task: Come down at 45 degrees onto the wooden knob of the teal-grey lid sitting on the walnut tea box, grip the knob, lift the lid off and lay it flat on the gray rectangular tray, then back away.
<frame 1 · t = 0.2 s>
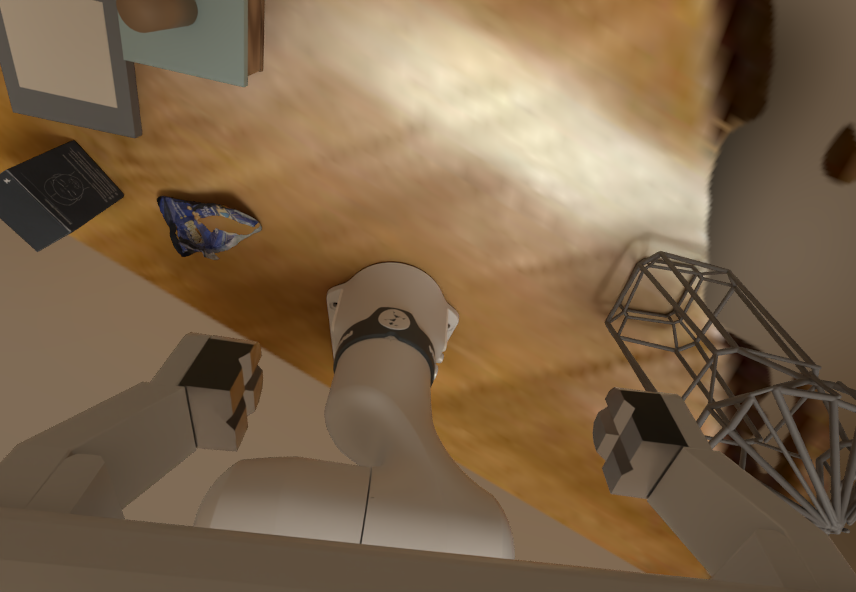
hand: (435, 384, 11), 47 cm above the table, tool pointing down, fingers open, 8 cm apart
tea box: (212, 3, 47), on the table
lid: (185, 6, 42), point 6 cm above the table, touching tea box
geometric lantern: (656, 280, 64), on the table
snack package: (212, 221, 61), on the table
box: (86, 177, 58), on the table
gray rectangular tray: (69, 44, 49), on the table
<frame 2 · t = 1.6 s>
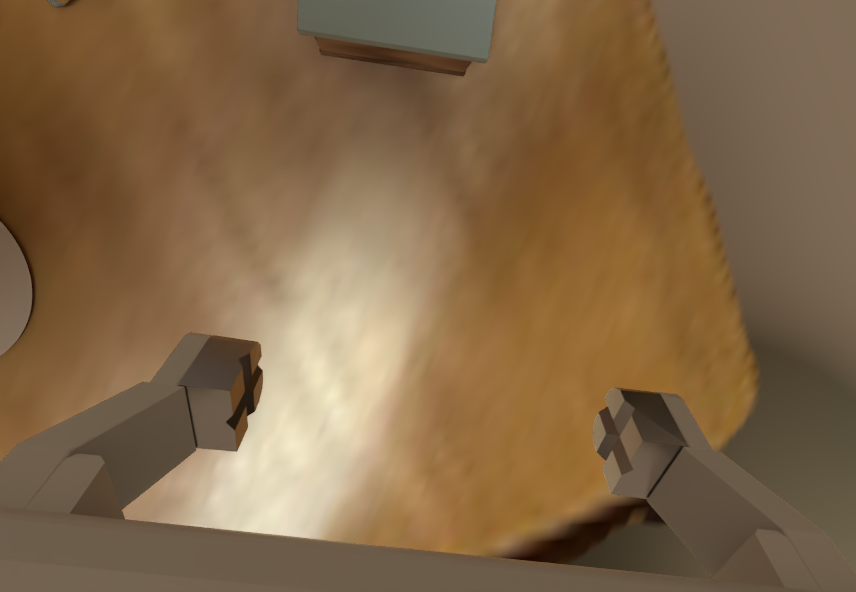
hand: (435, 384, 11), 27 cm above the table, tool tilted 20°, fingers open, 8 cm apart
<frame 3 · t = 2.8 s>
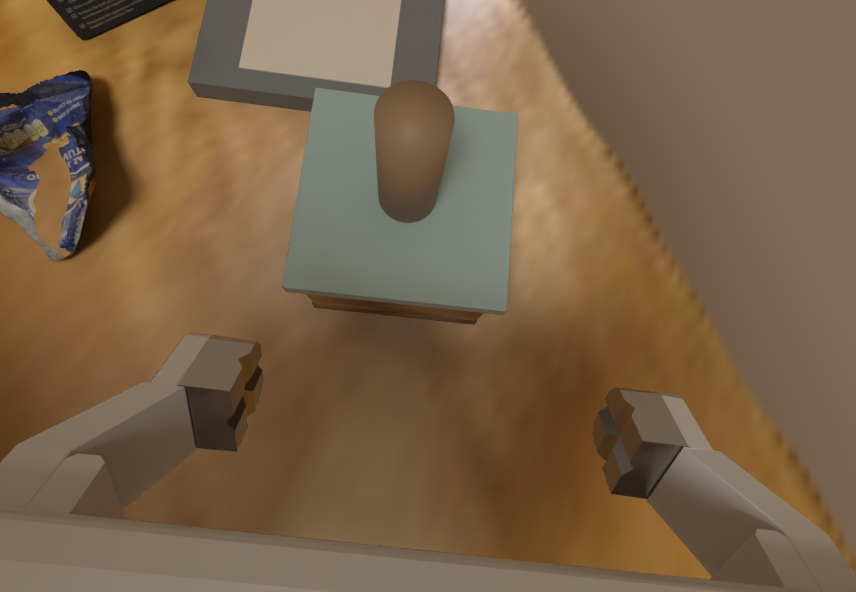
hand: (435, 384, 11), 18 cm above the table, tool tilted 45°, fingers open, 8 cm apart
tea box: (403, 240, 31), on the table
lid: (406, 203, 25), point 6 cm above the table, touching tea box
snack package: (55, 170, 31), on the table
gray rectangular tray: (328, 31, 34), on the table
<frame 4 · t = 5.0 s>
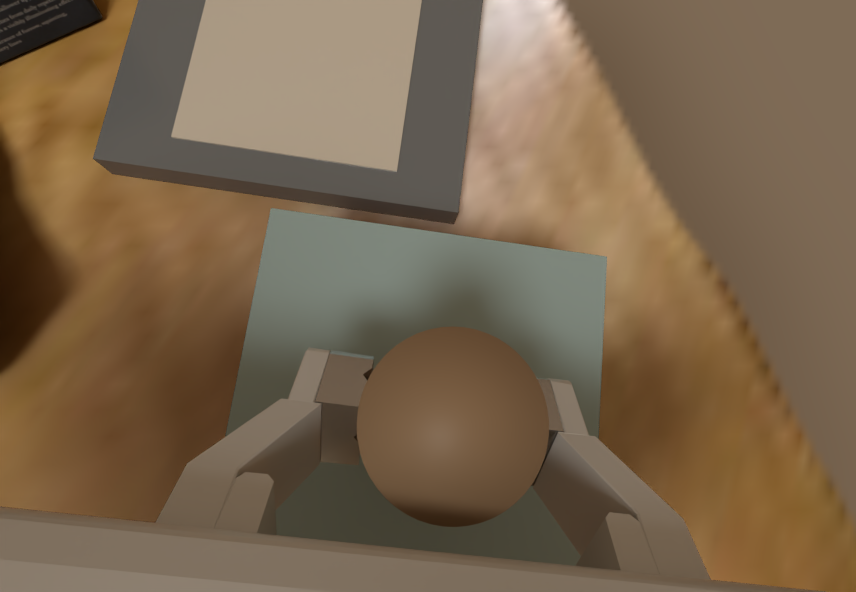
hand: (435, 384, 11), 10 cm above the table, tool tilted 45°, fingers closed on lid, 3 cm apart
lid: (419, 405, 15), point 6 cm above the table, touching gripper, tea box
box: (7, 14, 23), on the table
gray rectangular tray: (310, 78, 24), on the table
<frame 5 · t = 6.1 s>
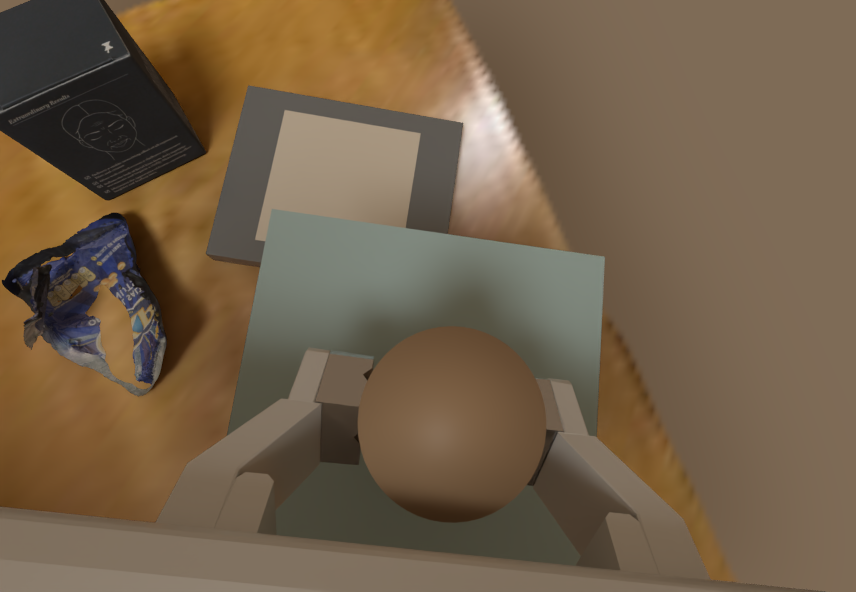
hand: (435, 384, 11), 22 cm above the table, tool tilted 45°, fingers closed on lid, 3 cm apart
lid: (419, 403, 15), point 18 cm above the table, touching gripper
snack package: (110, 309, 33), on the table
box: (143, 149, 35), on the table
gray rectangular tray: (343, 193, 35), on the table
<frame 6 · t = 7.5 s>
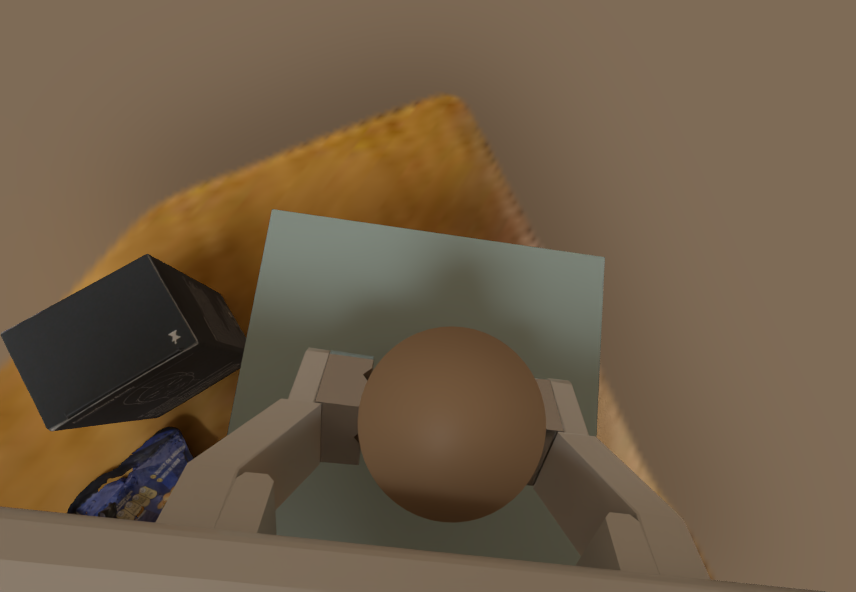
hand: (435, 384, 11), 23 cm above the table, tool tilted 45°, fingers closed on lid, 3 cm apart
lid: (419, 404, 15), point 19 cm above the table, touching gripper
snack package: (176, 521, 31), on the table
box: (190, 354, 33), on the table
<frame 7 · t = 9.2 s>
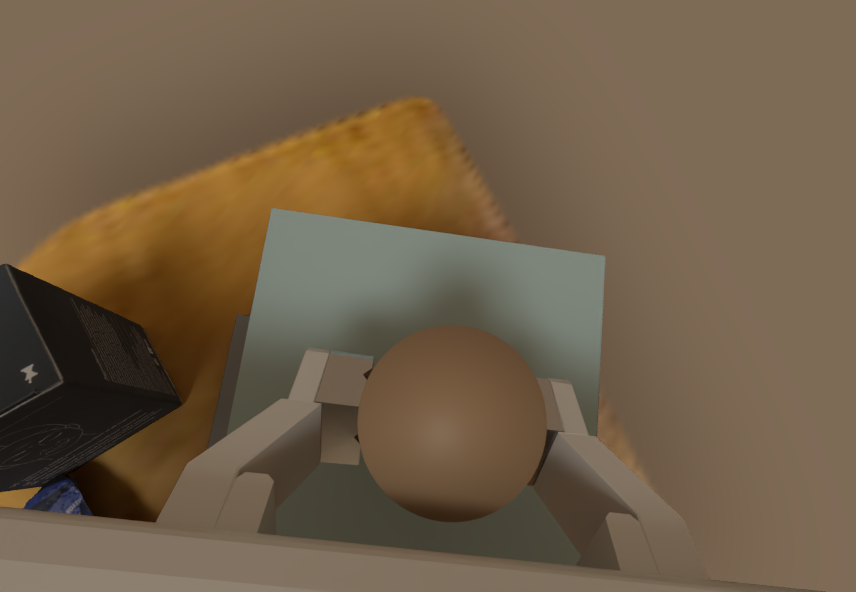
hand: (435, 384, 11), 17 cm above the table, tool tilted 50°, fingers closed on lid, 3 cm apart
lid: (419, 403, 15), point 13 cm above the table, tilted 6°, touching gripper
box: (99, 402, 27), on the table
gray rectangular tray: (362, 446, 27), on the table
when the fingers open (7 cm above the table, at t = 10.8 s): lid drops 1 cm, resting on gray rectangular tray.
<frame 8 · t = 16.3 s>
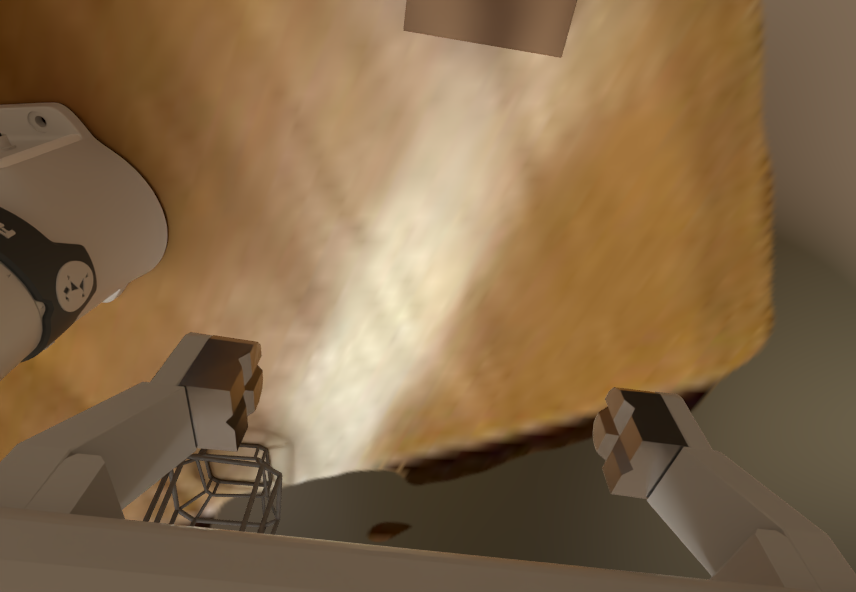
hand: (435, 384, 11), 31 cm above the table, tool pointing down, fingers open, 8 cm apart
geometric lantern: (246, 461, 62), on the table
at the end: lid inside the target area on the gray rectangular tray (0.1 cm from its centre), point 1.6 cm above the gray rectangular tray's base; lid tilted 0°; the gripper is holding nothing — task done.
